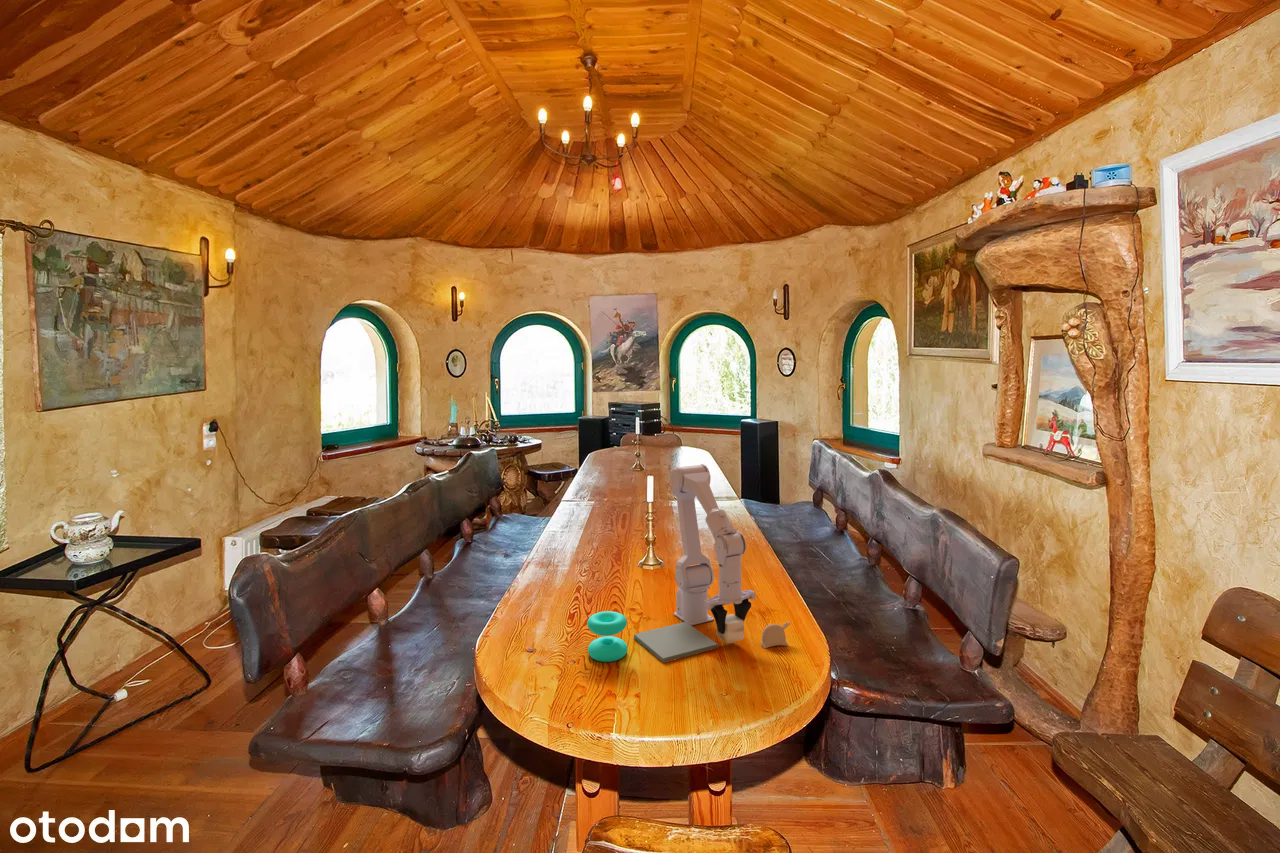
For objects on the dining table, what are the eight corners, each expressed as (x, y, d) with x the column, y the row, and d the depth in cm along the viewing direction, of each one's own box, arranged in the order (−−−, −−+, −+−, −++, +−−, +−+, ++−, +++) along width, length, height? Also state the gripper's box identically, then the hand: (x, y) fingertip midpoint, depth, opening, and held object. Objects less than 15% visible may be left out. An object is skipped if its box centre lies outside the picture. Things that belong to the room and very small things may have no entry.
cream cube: (716, 635, 176) (716, 617, 175) (732, 631, 178) (732, 613, 178) (727, 643, 172) (727, 624, 171) (743, 639, 174) (743, 620, 173)
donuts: (634, 617, 170) (602, 628, 163) (635, 655, 171) (604, 667, 164) (610, 606, 177) (579, 616, 171) (611, 642, 178) (580, 654, 172)
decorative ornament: (757, 642, 177) (757, 622, 176) (788, 638, 178) (788, 619, 178) (763, 648, 173) (763, 629, 172) (794, 645, 174) (794, 625, 174)
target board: (634, 638, 180) (634, 634, 180) (685, 625, 188) (685, 621, 187) (663, 663, 166) (663, 658, 166) (717, 648, 173) (717, 644, 173)
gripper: (715, 589, 166) (715, 642, 168) (762, 579, 173) (762, 629, 175) (699, 581, 172) (700, 631, 174) (746, 571, 179) (746, 620, 181)
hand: (730, 630), depth 175 cm, fingers closed on cream cube, 5 cm apart
